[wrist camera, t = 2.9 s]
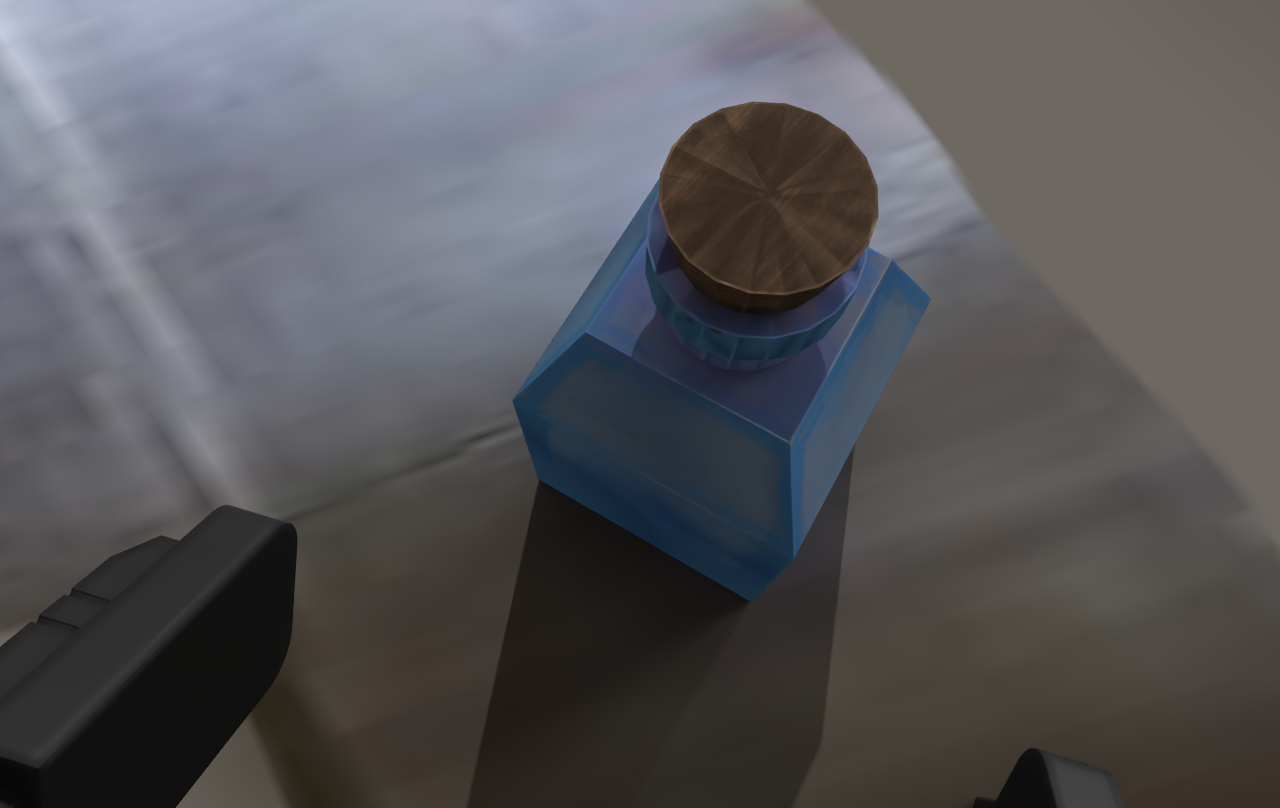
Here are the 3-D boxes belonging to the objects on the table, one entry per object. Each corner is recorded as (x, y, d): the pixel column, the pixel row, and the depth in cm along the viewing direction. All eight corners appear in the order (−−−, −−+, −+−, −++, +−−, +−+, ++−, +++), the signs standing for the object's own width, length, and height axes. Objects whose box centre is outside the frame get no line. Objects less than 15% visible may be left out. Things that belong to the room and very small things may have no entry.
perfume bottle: (657, 290, 26) (685, -42, 15) (859, 398, 25) (1051, 130, 14) (538, 479, 25) (467, 263, 13) (751, 602, 24) (869, 483, 12)
